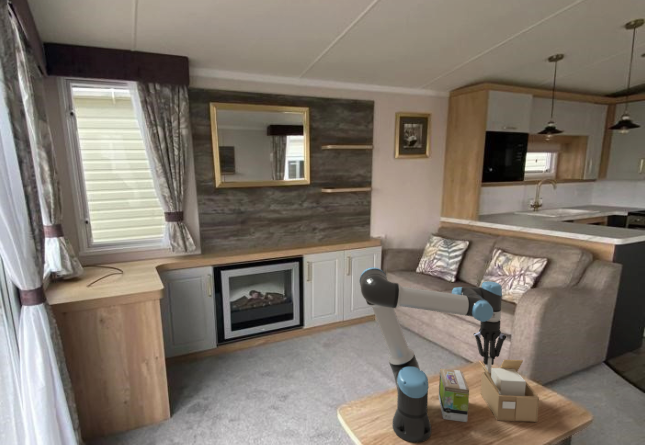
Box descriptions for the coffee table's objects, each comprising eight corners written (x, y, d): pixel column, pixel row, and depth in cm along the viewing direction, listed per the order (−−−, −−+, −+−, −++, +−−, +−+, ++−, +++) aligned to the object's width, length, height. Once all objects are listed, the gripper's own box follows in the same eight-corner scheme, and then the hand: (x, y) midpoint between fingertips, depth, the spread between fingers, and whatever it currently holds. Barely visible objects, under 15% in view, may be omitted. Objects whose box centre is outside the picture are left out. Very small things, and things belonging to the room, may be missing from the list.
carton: (497, 421, 142) (499, 388, 140) (480, 393, 160) (482, 364, 158) (539, 423, 141) (541, 389, 139) (516, 395, 159) (519, 365, 157)
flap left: (498, 391, 143) (498, 392, 143) (490, 379, 152) (489, 379, 152) (488, 371, 142) (487, 372, 142) (479, 360, 151) (479, 360, 151)
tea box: (468, 422, 141) (469, 389, 139) (442, 419, 143) (444, 386, 141) (461, 400, 156) (462, 369, 154) (438, 397, 158) (439, 367, 156)
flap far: (498, 372, 157) (498, 371, 157) (516, 373, 157) (516, 372, 157) (504, 360, 151) (504, 359, 152) (523, 360, 151) (522, 360, 151)
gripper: (478, 322, 141) (475, 375, 143) (510, 322, 140) (507, 376, 142) (471, 315, 148) (469, 366, 151) (502, 315, 147) (499, 366, 150)
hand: (488, 371), depth 147 cm, fingers closed
